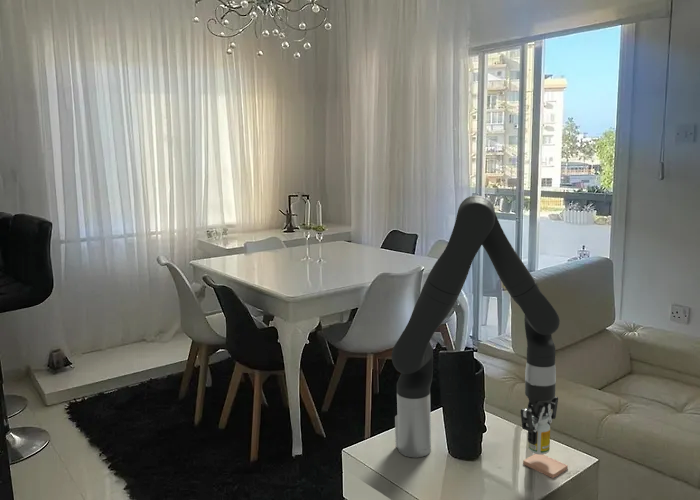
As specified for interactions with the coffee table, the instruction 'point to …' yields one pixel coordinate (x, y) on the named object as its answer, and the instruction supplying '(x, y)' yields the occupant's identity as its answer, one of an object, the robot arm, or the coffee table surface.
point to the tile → (545, 465)
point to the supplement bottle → (541, 437)
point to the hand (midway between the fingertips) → (538, 439)
